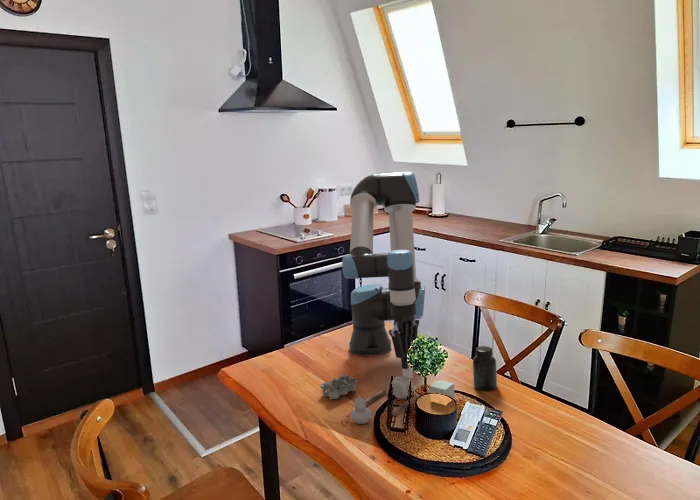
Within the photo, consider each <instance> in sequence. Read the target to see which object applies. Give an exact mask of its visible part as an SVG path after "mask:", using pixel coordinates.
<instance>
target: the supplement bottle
mask: <svg viewBox="0 0 700 500" xmlns="http://www.w3.org/2000/svg"><path fill="white" fill-rule="evenodd" d="M493 354H494V353H493V348H492V347H490V346H484V345H482V346H478V347H476V348H475V356H474V357H473V358H472V376H473V386H474V388H475V389H477V390H479V391H483V392H491V391H494V390H495V389H496V388H497V387H498V379H497V378H498V376H497V374H498V373H497V359H496V357H495V356H494V355H493Z"/></svg>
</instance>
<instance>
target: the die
mask: <svg viewBox="0 0 700 500" xmlns="http://www.w3.org/2000/svg"><path fill="white" fill-rule="evenodd" d="M410 381H411V391H412V394H413V393H414V387H415V386H414V385H415V384H414V382H413V381H412V379H410V378H408V377H405V376H403V375H401V376H396V377H394V379H393V380H392V381H391V384H392V387H393V393H392V395H393V396H394V397H395V398H397V399H400V400H401V399H402V400H403V399H404V400H405V399H408V398H407V396H408V389H409V385H410Z"/></svg>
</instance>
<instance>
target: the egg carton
mask: <svg viewBox="0 0 700 500" xmlns="http://www.w3.org/2000/svg"><path fill="white" fill-rule="evenodd" d="M358 381H359V379H356V377H352V376H351V375H348V374H346V373H344V374H343V375H341V376H340V377H337V378H334V379H331V380H329V381H328V382H323V383H321V384H320V386H319V389H322V390H321V391H322V396H323V397H324V398H326V397H329V400H334V399H340V396H343V395H344V396H345V395H346V396H347V394H348V393H349V392H354V391H357V388H358Z"/></svg>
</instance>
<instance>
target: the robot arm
mask: <svg viewBox="0 0 700 500" xmlns="http://www.w3.org/2000/svg"><path fill="white" fill-rule="evenodd" d="M349 202H350V203H349V206H350V208H351V210H352V212H351V213H352V215H351V225H350V226H351V228H350V244H349V245H350V246H349V254H346V255H343V257H342V259H341V260H342V261H341V267H342V268H341V269H342V274H343V276H344V278H346V279H357V280H358V279H368V278H369V279H370V278H388V288H384V286H383V285H382V284H380V283H369V284H365V285H361V286H359V287H356V288H355V289H353V290H351V293H350V305H351V317H352V320H351V321H352V332H351V337H350V342H349V351H350V352H351V353H352V354H354V355H357V356H363V357H365V356H367V357H369V356H378V355H383V354H386V353H387V352H389V351H390V350H391V349H392V345H393V349H394V350H393V351H394V355H395V357H396V358H398V359H400V362H401V369H402V376H405V377H408V378H410V379H411V380H412V379H413V378H414V372H413V368H412V369H411V368H410V366H409V365H408V361H407V353H408V349H409V348H410V345H411V342H412V341H413V340H415V339H416V338H417V339H418V332H419V331H418V330H419V326H420V319H422V318H423V316H424V311H425V309H424V308H425V295H426V294H425V293H426V286H423V285H421V284H422V283H421V280H420V279H418V278H417V272H416V271H417V270H416V268H417V267H416V254H415V238H414V236H415V235H414V223H413V220H414V219H413V212H414V211H415V210H416V208H417V205H416V204H418V203H420V194H419V189H418V182H417V179H416V175H415V174H414V173H413V172H412V171H400V172H388V173H387V172H386V173H378V174H377V173H375V174H374V173H373V174H369V175H367V176H366V177H364V178H363V179H361V180H360V181H359V182H358V183H357V185H356V186H355V187H354V189H353V191H352V192H351V195H350V201H349ZM377 206H383V207H384V211H385V212H386V213H388V223H389V225H388V226H389V244H390V251H389V252H381V253H374V214H375V213H374V211H375V210H376V208H377ZM388 321H389V322H391V321H393V328H392V329H389V330H388V332H387V329H386V325H385V323H386V322H388ZM388 333H389V334H388ZM389 335H390V336H391V339H390V337H389Z"/></svg>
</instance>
